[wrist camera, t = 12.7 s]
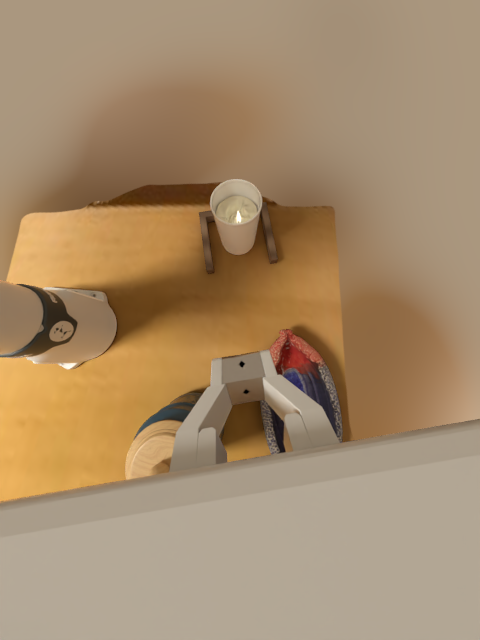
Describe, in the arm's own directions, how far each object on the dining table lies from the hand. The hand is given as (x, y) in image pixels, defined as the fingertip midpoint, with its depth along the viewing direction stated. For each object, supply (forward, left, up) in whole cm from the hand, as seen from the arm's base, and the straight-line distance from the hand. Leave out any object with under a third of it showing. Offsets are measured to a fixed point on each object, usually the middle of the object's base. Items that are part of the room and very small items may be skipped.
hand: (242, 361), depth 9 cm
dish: (+13, -7, -32) cm, 35 cm away
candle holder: (-9, +26, -31) cm, 42 cm away
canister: (-6, -17, -31) cm, 36 cm away
